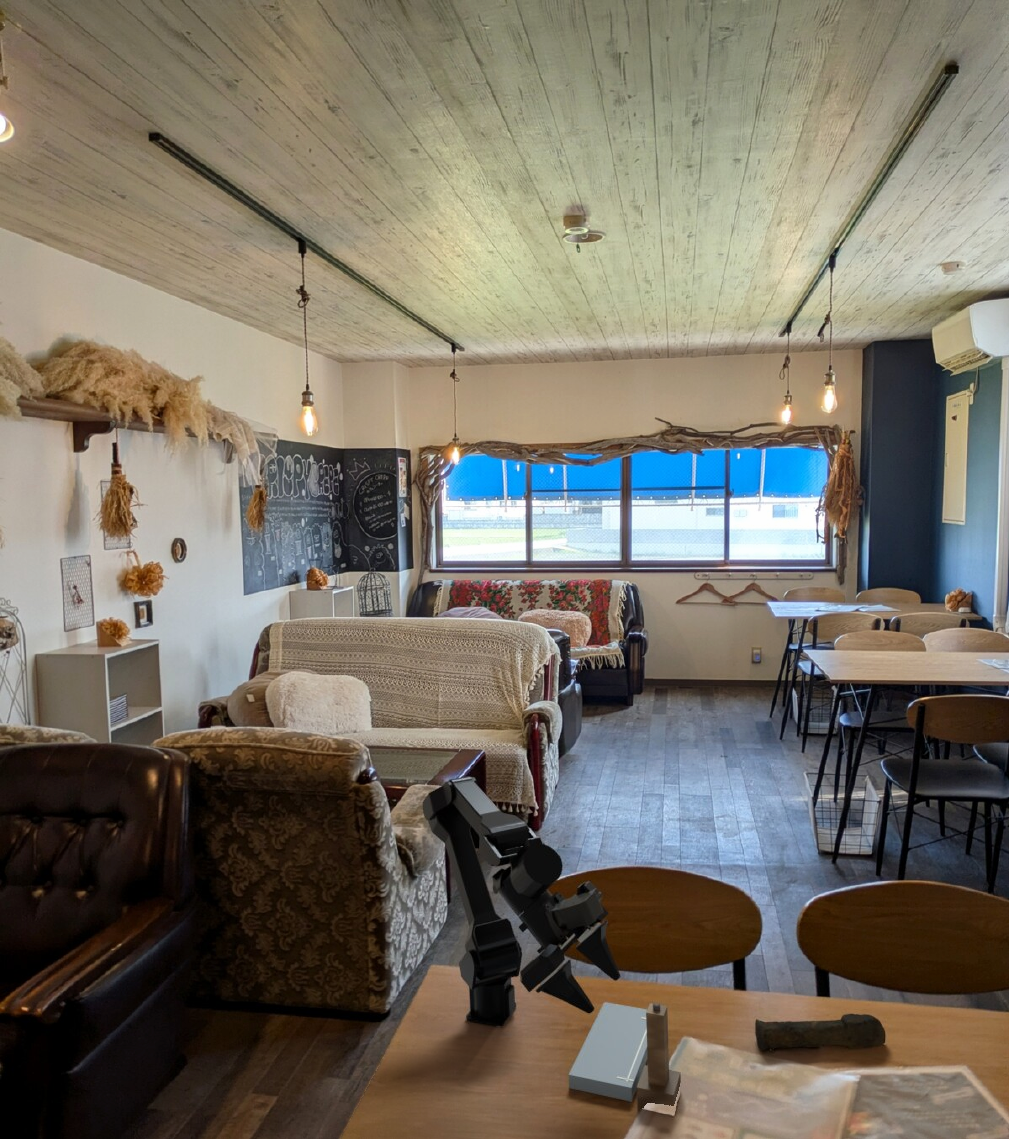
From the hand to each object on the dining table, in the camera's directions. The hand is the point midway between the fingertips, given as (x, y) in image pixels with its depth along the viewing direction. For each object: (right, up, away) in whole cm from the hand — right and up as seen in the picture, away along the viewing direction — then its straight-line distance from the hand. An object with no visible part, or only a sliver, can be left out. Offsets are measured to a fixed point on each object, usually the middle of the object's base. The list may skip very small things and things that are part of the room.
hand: (605, 994), depth 122 cm
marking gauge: (+7, -13, -3) cm, 15 cm away
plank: (+3, -13, +8) cm, 15 cm away
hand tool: (+33, -12, +8) cm, 36 cm away
